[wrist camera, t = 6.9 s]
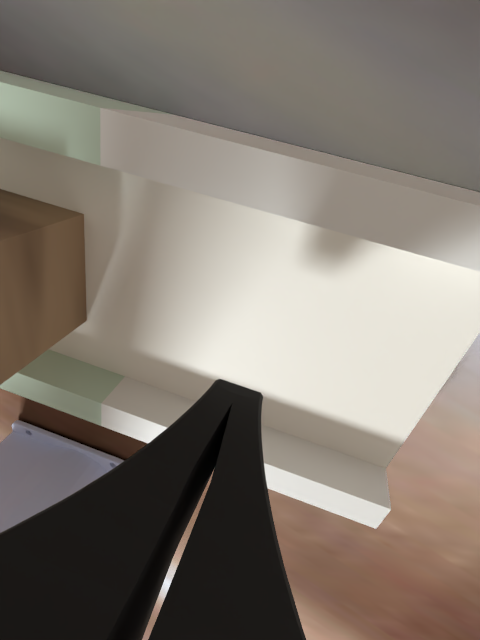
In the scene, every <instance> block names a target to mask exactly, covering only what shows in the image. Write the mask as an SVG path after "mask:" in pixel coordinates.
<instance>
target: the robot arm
mask: <svg viewBox="0 0 480 640" xmlns="http://www.w3.org/2000/svg"><path fill="white" fill-rule="evenodd" d="M262 401H263V395H262V394H261V392H258V391H255V390H252V389H249V388H246V387H243V386H240V385H237V384H234V383H231V382H228V381H225V380H222V379H218V380H216V381H215V382H214V383H213V384H212V386H211V387H210V388H209V389H208V390H207V391H206V392H205V393H204V394H203V395H202V397H201V398H200V399H199V400H198V401H197V402H196V403H195V404H194V405H192V406H191V407H190V408H189V409H188V410H187V411H186V412H185V413H184V414H183V415H182V416H181V417H179V418H178V419H177V420H176V421H175V422H174V423H173V424H172V425H170V426H169V427H168V428H167V429H166V430H164V431H163V432H162V433H161V434H159V435H158V436H157V437H156V438H154V439H153V440H152V441H151V442H149V443H148V444H147V445H146V446H144V447H143V448H142V449H140V450H139V451H138V452H136V453H135V454H133V455H132V456H131V457H129V458H128V459H126V460H125V461H124V460H122V459H119V458H117V457H114V456H111V455H109V454H106V453H104V452H101V451H98V450H96V449H93V448H91V447H88V446H85V445H83V444H80V443H78V442H75V441H72V440H70V439H67V438H65V437H62V436H59V435H57V434H54V433H51V432H49V431H46V430H44V429H41V428H38V427H36V426H33V425H31V424H28V423H25V422H23V421H20V420H16V421H15V422H14V423H13V424H12V429H13V432H12V433H11V434H9V435H8V436H7V437H6V438H5V439H4V440H3V441H2V442H1V443H0V640H142V638H143V635H144V632H145V630H146V627H147V624H148V622H149V619H150V616H151V614H152V611H153V608H154V606H155V603H156V600H157V598H158V595H159V592H160V590H161V587H162V585H163V582H164V579H165V577H166V574H167V571H168V569H169V566H170V563H171V561H172V558H173V556H174V554H175V551H176V549H177V547H178V544H179V542H180V540H181V538H182V536H183V534H184V531H185V529H186V527H187V525H188V523H189V521H190V519H191V517H192V514H193V512H194V510H195V508H196V506H197V504H198V502H199V500H200V498H201V495H202V493H203V491H204V489H205V487H206V485H207V483H208V480H209V478H210V476H211V474H212V472H213V470H214V472H213V476H212V480H211V483H210V486H209V488H208V491H207V493H206V496H205V498H204V501H203V504H202V506H201V509H200V511H199V514H198V517H197V519H196V522H195V524H194V527H193V529H192V532H191V534H190V537H189V540H188V542H187V545H186V547H185V550H184V552H183V555H182V557H181V560H180V562H179V565H178V567H177V570H176V572H175V575H174V577H173V580H172V582H171V585H170V587H169V590H168V592H167V595H166V597H165V600H164V602H163V605H162V607H161V610H160V612H159V615H158V617H157V620H156V622H155V625H154V627H153V630H152V632H151V635H150V637H149V639H148V640H306V638H305V635H304V632H303V629H302V625H301V622H300V619H299V615H298V612H297V609H296V605H295V602H294V598H293V595H292V592H291V588H290V585H289V582H288V578H287V575H286V571H285V568H284V564H283V560H282V556H281V552H280V548H279V544H278V540H277V535H276V531H275V526H274V522H273V517H272V512H271V507H270V501H269V496H268V489H267V483H266V476H265V468H264V459H263V448H262V434H261V412H262ZM214 468H215V469H214Z"/></svg>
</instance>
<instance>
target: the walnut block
mask: <svg viewBox="0 0 480 640" xmlns="http://www.w3.org/2000/svg"><path fill="white" fill-rule="evenodd" d="M86 321H87V311H86V274H85V237H84V214H82V213H79V212H76V211H72V210H69V209H66V208H62V207H59V206H56V205H52V204H49V203H46V202H42V201H39V200H36V199H32V198H29V197H26V196H22V195H19V194H16V193H12V192H9V191H6V190H2V189H0V385H1V384H2V383H4V382H5V381H6V380H8V379H9V378H10V377H12V376H13V375H14V374H16V373H17V372H18V371H20V370H21V369H23V368H24V367H25V366H27V365H28V364H29V363H31V362H32V361H33V360H35V359H36V358H37V357H39V356H40V355H41V354H43V353H44V352H45V351H47V350H48V349H49V348H51V347H52V346H53V345H55V344H56V343H57V342H59V341H60V340H61V339H63V338H64V337H65V336H67V335H68V334H70V333H71V332H72V331H74V330H75V329H76V328H78V327H79V326H80V325H82V324H83V323H84V322H86Z"/></svg>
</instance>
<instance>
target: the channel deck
mask: <svg viewBox="0 0 480 640" xmlns="http://www.w3.org/2000/svg"><path fill="white" fill-rule="evenodd" d="M0 189H2V190H6V191H9V192H12V193H16V194H19V195H22V196H26V197H29V198H32V199H36V200H39V201H42V202H46V203H49V204H52V205H56V206H59V207H62V208H66V209H69V210H72V211H76V212H79V213H82V214H84V237H85V274H86V311H87V321H86V322H84V323H83V324H82V325H80V326H79V327H78V328H76V329H75V330H74V331H72V332H71V333H70V334H68V335H67V336H65V337H64V338H63V339H61V340H60V341H59V342H57V343H56V344H55V345H53V346H52V347H51V348H49V349H48V350H47V351H45V352H44V353H43V354H41V355H40V356H39V357H37V358H36V359H35V360H33V361H32V362H31V363H29V364H28V365H27V366H25V367H24V368H23V369H21V370H20V371H18V372H17V373H16V374H14V375H13V376H12V377H10V378H9V379H8V380H6V381H5V382H4V383H2V384H1V385H0V388H1V389H4V390H6V391H9V392H12V393H14V394H17V395H20V396H22V397H25V398H28V399H30V400H33V401H36V402H38V403H41V404H44V405H46V406H49V407H52V408H54V409H57V410H60V411H62V412H65V413H68V414H70V415H73V416H76V417H78V418H81V419H84V420H87V421H89V422H92V423H95V424H97V425H100V426H103V427H105V428H108V429H111V430H113V431H116V432H119V433H121V434H124V435H127V436H129V437H132V438H135V439H137V440H140V441H143V442H145V443H149V442H151V441H152V440H153V439H154V438H156V437H157V436H158V435H159V434H161V433H162V432H163V431H164V430H166V429H167V428H168V427H169V426H170V425H172V424H173V423H174V422H175V421H176V420H177V419H178V418H179V417H181V416H182V415H183V414H184V413H185V412H186V411H187V410H188V409H189V408H190V407H191V406H192V405H194V404H195V403H196V402H197V401H198V400H199V399H200V398H201V397H202V395H203V394H204V393H205V392H206V391H207V390H208V389H209V388H210V387H211V386H212V384H213V383H214V382H215V381H216V380H218V379H222V380H225V381H228V382H231V383H234V384H237V385H240V386H243V387H246V388H249V389H252V390H255V391H258V392H261V394H262V395H263V401H262V412H261V434H262V448H263V459H264V468H265V476H266V483H267V488H268V489H271V490H274V491H276V492H279V493H282V494H284V495H287V496H290V497H292V498H295V499H298V500H300V501H303V502H306V503H308V504H311V505H314V506H316V507H319V508H322V509H324V510H327V511H330V512H332V513H335V514H338V515H340V516H343V517H346V518H348V519H351V520H354V521H357V522H359V523H362V524H365V525H367V526H370V527H373V528H375V529H376V528H377V527H378V526H379V524H380V523H381V522H382V521H383V519H384V518H385V517H386V515H387V514H388V513H389V512H390V510H391V504H390V496H389V489H388V481H387V473H386V468H387V466H388V465H389V463H390V462H391V460H392V459H393V457H394V456H395V454H396V453H397V452H398V450H399V449H400V447H401V446H402V444H403V443H404V441H405V440H406V438H407V437H408V436H409V434H410V433H411V431H412V430H413V428H414V427H415V425H416V424H417V423H418V421H419V420H420V418H421V417H422V415H423V414H424V412H425V411H426V409H427V408H428V407H429V405H430V404H431V402H432V401H433V399H434V398H435V396H436V395H437V394H438V392H439V391H440V389H441V388H442V386H443V385H444V383H445V382H446V380H447V379H448V378H449V376H450V375H451V373H452V372H453V370H454V369H455V367H456V366H457V364H458V363H459V362H460V360H461V359H462V357H463V356H464V354H465V353H466V351H467V350H468V349H469V347H470V346H471V344H472V343H473V341H474V340H475V338H476V337H477V335H478V334H479V333H480V192H477V191H473V190H469V189H465V188H461V187H457V186H453V185H449V184H445V183H441V182H437V181H433V180H429V179H425V178H422V177H418V176H414V175H410V174H406V173H402V172H398V171H394V170H390V169H386V168H382V167H378V166H374V165H370V164H366V163H362V162H359V161H355V160H351V159H347V158H343V157H339V156H335V155H331V154H327V153H323V152H319V151H315V150H311V149H307V148H303V147H299V146H296V145H292V144H288V143H284V142H280V141H276V140H272V139H268V138H264V137H260V136H256V135H252V134H248V133H244V132H240V131H237V130H233V129H229V128H225V127H221V126H217V125H213V124H209V123H205V122H201V121H197V120H193V119H189V118H185V117H181V116H177V115H174V114H170V113H166V112H162V111H158V110H154V109H150V108H146V107H142V106H138V105H134V104H130V103H126V102H122V101H118V100H114V99H111V98H107V97H103V96H99V95H95V94H91V93H87V92H83V91H79V90H75V89H71V88H67V87H63V86H59V85H55V84H52V83H48V82H44V81H40V80H36V79H32V78H28V77H24V76H20V75H16V74H12V73H8V72H4V71H0Z"/></svg>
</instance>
